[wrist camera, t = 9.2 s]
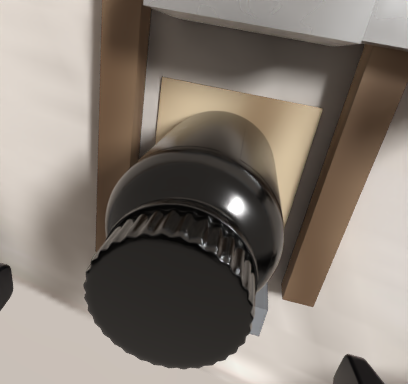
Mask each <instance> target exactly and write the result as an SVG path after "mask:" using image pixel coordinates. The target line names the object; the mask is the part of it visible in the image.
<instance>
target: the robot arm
mask: <svg viewBox="0 0 408 384" xmlns="http://www.w3.org/2000/svg"><path fill="white" fill-rule="evenodd" d="M12 292H13V281H12V272H11V268H10V266H9V265H7V264H3V263H0V311H1V309H2V308H3V307H4V305H5V304H6V302H7V301H8V300H9V298H10V296H11V294H12ZM333 384H384V382H383V381H382V380H381V379H380V377H379V376H378V375H377V374H376V372H375V371H374V370H373V369H372V367H371V366H370V365H369V364H368V362H367V361H366V360H365V359H363V358H361V357H357V356H354V355H350V354H347V355H345V356H344V358H343V360H342V362H341V363H340V365H339V367H338V369H337V371H336V373H335V375H334V380H333Z"/></svg>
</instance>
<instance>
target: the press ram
mask: <svg viewBox="0 0 408 384" xmlns="http://www.w3.org/2000/svg"><path fill="white" fill-rule="evenodd" d="M143 5H144V6H147V7H149V8H152V9H154V10H157V11H159V12H162V13H164V14H167V15H170V16H172V17H175V18H177V19H183V20H189V21H194V22H200V23H205V24H211V25H216V26H222V27H227V28H233V29H238V30H244V31H250V32H255V33H261V34H266V35H272V36H277V37H283V38H288V39H294V40H300V41H305V42H311V43H316V44H322V45H327V46H333V47H334V46H343V45H353V44H361V43H362V44H368V45H373V46H379V47H385V48H390V49H396V50H402V51H407V52H408V0H144V1H143Z"/></svg>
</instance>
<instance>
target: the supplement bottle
mask: <svg viewBox="0 0 408 384" xmlns="http://www.w3.org/2000/svg"><path fill="white" fill-rule="evenodd" d="M105 232H106V240H105V242H104V244H103V245H102V246H101V247H100V248H99V250H98V251H97V252H96V253H95V255H94V256H93V258H92V260H91V264H90V266H89V267H88V269H87V271H86V281H85V283H84V289H85V291H86V294H85V297H84V298H85V300H86V302H87V304H88V311H89V312H90V314H91V315H92V316H93V319H94V322H95V324H96V325H97V326H99V327H100V328H101V330H102V332H103V334H104V335H106V336H107V337H109V338H110V339H111V341H112V342H113V343H114V344H115V345H117V346H119V347H121V348H122V349H123V350H124V351H125V352H126V353H129V354H132V355H134V356H136V357H137V358H138V359H140V360H144V361H148V362H150V363H152V364H153V365H162V366H164V367H167V368H180V369H187V368H200V367H202V366H208V365H213V364H215V363H216V362H217V361H223V360H225V359H226V358H227V357H228V356H229V355H231V354H234V353H236V352H237V349H238V347H239V346H241V345H243V344H244V343H245V341H246V336H247V335H248V334H249V333H250V332H251V329H252V321H253V319H254V316H255V296H256V293H257V292H258V291H259V290H261V288H262V287H263V286H264V285H265V284H266V283H267V282H268V281H269V279H270V278H271V277H272V275H273V273H274V272H275V270H276V268H277V266H278V264H279V261H280V258H281V255H282V251H283V246H284V222H283V215H282V208H281V201H280V194H279V187H278V180H277V174H276V167H275V161H274V156H273V153H272V150H271V147H270V145H269V143H268V141H267V139H266V137H265V136H264V134H263V133H262V132H261V131H260V130H259V129H258V128H257V127H256V126H255V125H254V124H253V123H252V122H250V121H249V120H247V119H245V118H243V117H242V116H239V115H237V114H234V113H230V112H226V111H206V112H201V113H198V114H195V115H193V116H191V117H188V118H187V119H185V120H183V121H182V122H181V123H179V124H178V125H177V126H176V127H174V128H173V129H172V130H171V131H170V132H169V133H168V134H167V135H166V136H164V137H163V138H162V139H161V140H160V141H159V142H158V143H157V144H156V145H154V146H153V147H152V148H151V149H150V150H149V151H148V152H147V153H146V154H144V155H143V156H142V157H141V158H140V159H139V160H138V161H137V162H136V163H135V164H133V165H132V166H131V167H130V168H129V169H128V170H127V171H126V173H125V174H124V175H123V176H122V177H121V178H120V180H119V181H118V183H117V184H116V185H115V187H114V189H113V191H112V193H111V196H110V198H109V201H108V204H107V208H106V215H105Z"/></svg>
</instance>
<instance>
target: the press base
mask: <svg viewBox="0 0 408 384" xmlns="http://www.w3.org/2000/svg"><path fill="white" fill-rule="evenodd" d="M143 1H144V0H102V25H101V63H100V101H99V139H98V177H97V215H96V252H97V251H98V250H99V248H100V247H101V246H102V245H103V244H104V242H105V240H106V232H105V215H106V208H107V204H108V201H109V198H110V196H111V193H112V191H113V189H114V187H115V185H116V184H117V183H118V181H119V180H120V178H121V177H122V176H123V175H124V174H125V173H126V171H127V170H128V169H129V168H130V167H131V166H132V165H133V164H135V163H136V162H137V161H138V160H139V149H140V137H141V126H142V114H143V102H144V90H145V78H146V66H147V54H148V42H149V31H150V19H151V8H149V7H147V6H144V5H143ZM407 82H408V52H407V51H402V50H396V49H390V48H385V47H379V46H373V45H368V44H365V46H364V49H363V52H362V55H361V57H360V60H359V63H358V66H357V69H356V72H355V75H354V77H353V80H352V83H351V86H350V89H349V92H348V95H347V98H346V100H345V103H344V106H343V109H342V112H341V115H340V118H339V121H338V123H337V126H336V129H335V132H334V135H333V138H332V141H331V143H330V146H329V149H328V152H327V155H326V158H325V161H324V164H323V166H322V169H321V172H320V175H319V178H318V181H317V184H316V186H315V189H314V192H313V195H312V198H311V201H310V204H309V207H308V209H307V212H306V215H305V218H304V221H303V224H302V227H301V229H300V232H299V235H298V238H297V241H296V244H295V247H294V250H293V252H292V255H291V258H290V261H289V264H288V267H287V270H286V272H285V275H284V278H283V281H282V284H281V286H282V299H283V300H287V301H291V302H295V303H299V304H303V305H307V306H311V307H313V306H314V304H315V301H316V299H317V297H318V294H319V292H320V290H321V287H322V285H323V282H324V280H325V278H326V275H327V273H328V270H329V268H330V266H331V263H332V261H333V259H334V256H335V254H336V251H337V249H338V247H339V244H340V242H341V240H342V237H343V235H344V232H345V230H346V228H347V225H348V223H349V220H350V218H351V216H352V213H353V211H354V209H355V206H356V204H357V201H358V199H359V197H360V194H361V192H362V190H363V187H364V185H365V182H366V180H367V178H368V175H369V173H370V170H371V168H372V166H373V163H374V161H375V159H376V156H377V154H378V151H379V149H380V147H381V144H382V142H383V140H384V137H385V135H386V132H387V130H388V128H389V125H390V123H391V120H392V118H393V116H394V113H395V111H396V109H397V106H398V104H399V101H400V99H401V97H402V94H403V92H404V90H405V87H406V85H407ZM322 110H323V109H322V108H317V107H312V106H307V105H302V104H297V103H292V102H287V101H282V100H277V99H272V98H267V97H261V96H256V95H251V94H246V93H241V92H236V91H231V90H226V89H221V88H216V87H211V86H206V85H201V84H196V83H191V82H186V81H181V80H176V79H171V78H166V77H162V84H161V94H160V103H159V113H158V122H157V132H156V141H155V145H156V144H157V143H158V142H159V141H160V140H161V139H162V138H163V137H164V136H166V135H167V134H168V133H169V132H170V131H171V130H172V129H173V128H174V127H176V126H177V125H178V124H179V123H181V122H182V121H183V120H185V119H187V118H188V117H191V116H193V115H195V114H198V113H201V112H206V111H226V112H230V113H234V114H237V115H239V116H242V117H243V118H245V119H247V120H249V121H250V122H252V123H253V124H254V125H255V126H256V127H257V128H258V129H259V130H260V131H261V132H262V133H263V134H264V136H265V137H266V139H267V141H268V143H269V145H270V147H271V150H272V153H273V156H274V161H275V167H276V174H277V180H278V187H279V194H280V201H281V208H282V215H283V222H284V228H285V225H286V222H287V219H288V216H289V213H290V209H291V206H292V203H293V200H294V197H295V194H296V191H297V188H298V185H299V182H300V178H301V175H302V172H303V169H304V166H305V163H306V160H307V157H308V154H309V151H310V148H311V144H312V141H313V138H314V135H315V132H316V129H317V126H318V123H319V120H320V117H321V113H322ZM267 311H268V282H267V283H266V284H265V285H264V286H263V287H262V288H261V290H259V291H258V292H257V293H256V296H255V316H254V319H253V321H252V329H251V332H250V333H249V334H252V335H256V336H259V335H260V332H261V329H262V326H263V323H264V320H265V317H266V314H267Z"/></svg>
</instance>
